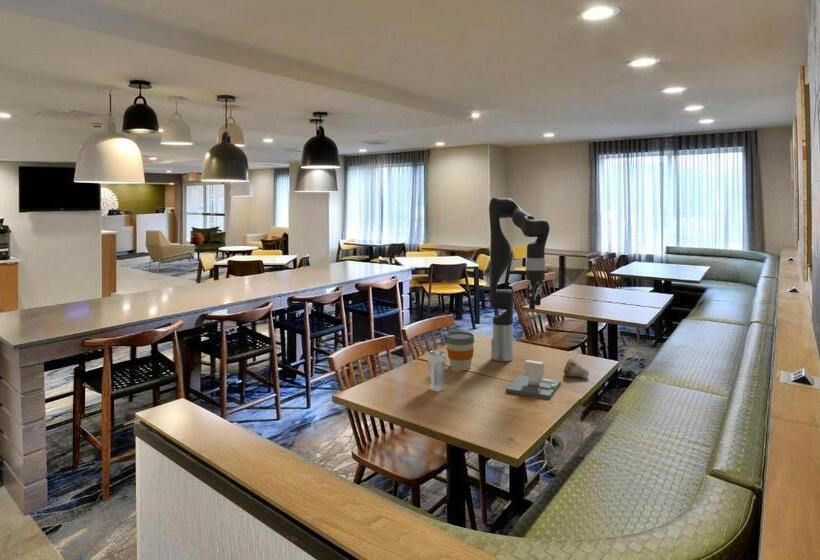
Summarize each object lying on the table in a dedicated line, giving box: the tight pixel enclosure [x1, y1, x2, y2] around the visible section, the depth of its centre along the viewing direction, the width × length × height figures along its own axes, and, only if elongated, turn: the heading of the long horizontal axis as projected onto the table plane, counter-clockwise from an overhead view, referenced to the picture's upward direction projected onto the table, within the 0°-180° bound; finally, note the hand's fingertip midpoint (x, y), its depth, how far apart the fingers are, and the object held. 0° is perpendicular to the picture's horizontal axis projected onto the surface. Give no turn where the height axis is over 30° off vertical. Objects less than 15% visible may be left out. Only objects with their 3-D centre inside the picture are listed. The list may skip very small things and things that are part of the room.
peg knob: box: [524, 359, 551, 386], centre depth 205 cm, size 10×4×9 cm, turn 59°
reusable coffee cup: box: [445, 331, 475, 371], centre depth 232 cm, size 13×13×15 cm
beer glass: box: [427, 350, 447, 391], centre depth 207 cm, size 7×7×15 cm
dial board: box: [505, 374, 562, 400], centre depth 206 cm, size 17×18×2 cm
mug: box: [563, 358, 590, 379], centre depth 218 cm, size 8×10×10 cm
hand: (535, 307), depth 215 cm, fingers open, 8 cm apart
